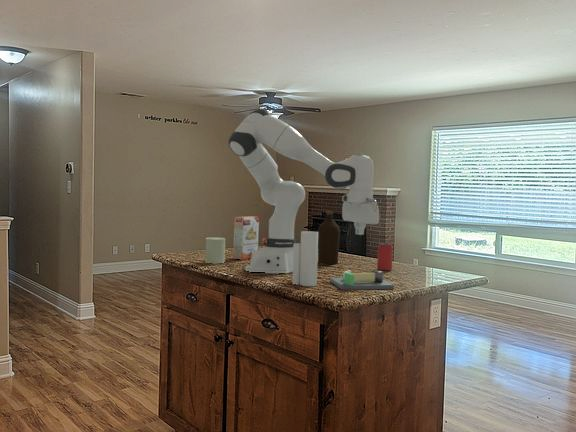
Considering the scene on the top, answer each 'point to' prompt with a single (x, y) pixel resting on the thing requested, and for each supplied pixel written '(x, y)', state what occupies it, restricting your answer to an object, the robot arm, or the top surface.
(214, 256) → the can
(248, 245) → the cracker box
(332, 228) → the olive oil
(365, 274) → the spice jar
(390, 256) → the beer can
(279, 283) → the top surface
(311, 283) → the candle
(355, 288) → the gauge board
